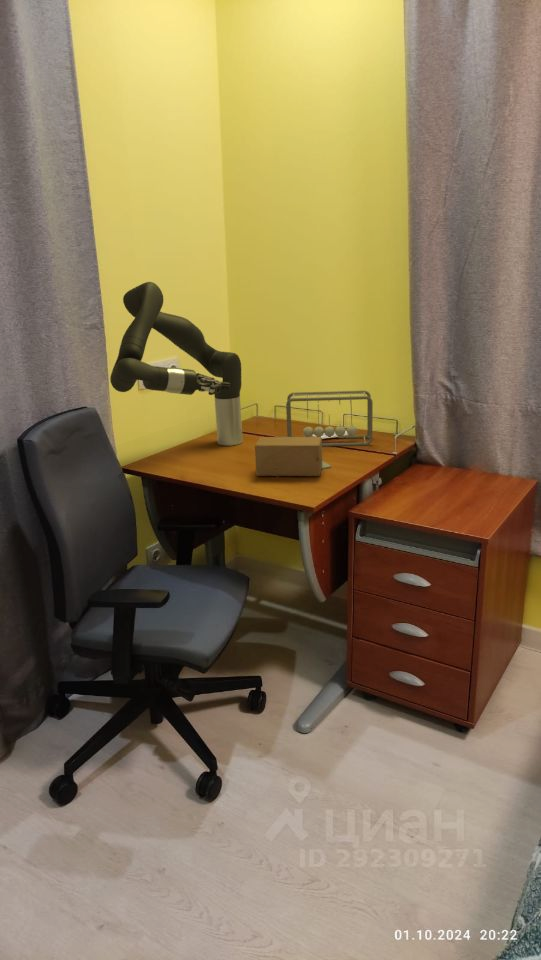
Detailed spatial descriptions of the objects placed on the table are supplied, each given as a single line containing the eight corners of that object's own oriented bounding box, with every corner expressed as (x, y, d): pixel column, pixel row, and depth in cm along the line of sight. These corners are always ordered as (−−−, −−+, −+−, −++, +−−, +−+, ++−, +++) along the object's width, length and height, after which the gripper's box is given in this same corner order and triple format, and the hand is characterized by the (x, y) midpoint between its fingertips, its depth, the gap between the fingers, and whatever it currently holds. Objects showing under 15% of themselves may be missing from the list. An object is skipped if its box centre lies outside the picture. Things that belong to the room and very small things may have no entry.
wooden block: (256, 476, 222) (320, 476, 219) (254, 445, 218) (319, 445, 215) (261, 466, 231) (322, 466, 228) (259, 436, 228) (321, 436, 225)
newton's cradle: (370, 437, 260) (370, 390, 254) (372, 445, 250) (372, 396, 245) (288, 439, 262) (287, 392, 257) (287, 447, 253) (285, 398, 247)
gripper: (188, 376, 205) (241, 382, 214) (173, 361, 215) (224, 368, 224) (183, 400, 208) (235, 406, 217) (168, 384, 218) (218, 390, 227)
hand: (229, 386), depth 221 cm, fingers closed
